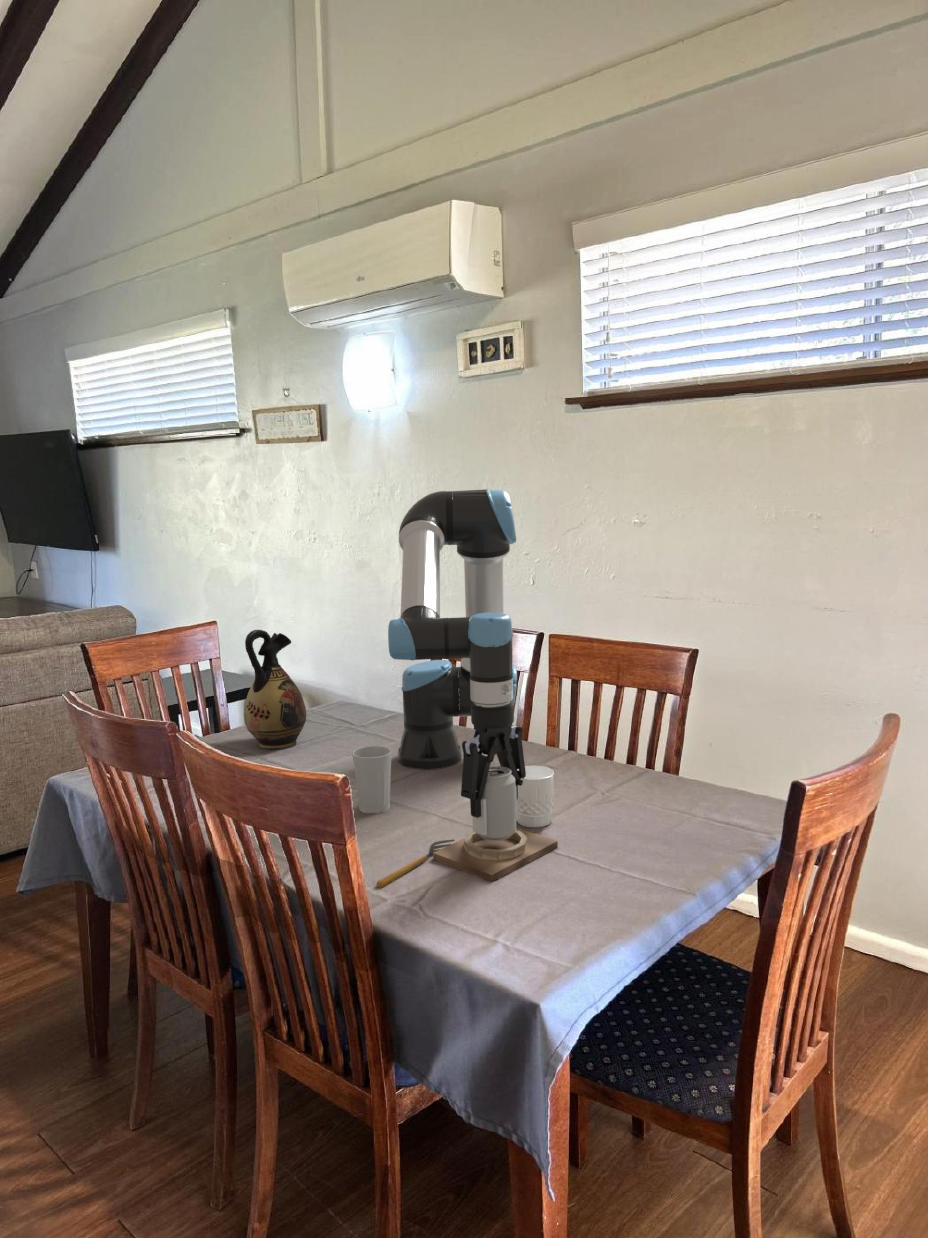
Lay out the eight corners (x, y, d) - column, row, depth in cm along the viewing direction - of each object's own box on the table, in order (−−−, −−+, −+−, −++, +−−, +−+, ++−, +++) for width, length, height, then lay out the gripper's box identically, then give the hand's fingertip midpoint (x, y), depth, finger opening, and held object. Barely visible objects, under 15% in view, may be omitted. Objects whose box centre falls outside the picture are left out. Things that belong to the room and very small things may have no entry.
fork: (383, 882, 153) (455, 838, 169) (374, 877, 154) (447, 834, 170) (381, 895, 154) (453, 850, 170) (373, 890, 155) (445, 845, 171)
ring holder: (499, 828, 177) (499, 814, 177) (557, 847, 168) (557, 833, 167) (433, 859, 164) (432, 844, 164) (492, 881, 155) (491, 866, 155)
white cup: (558, 815, 183) (558, 767, 181) (549, 831, 175) (548, 780, 174) (520, 812, 185) (519, 764, 184) (509, 826, 178) (508, 777, 176)
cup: (387, 816, 185) (385, 758, 183) (349, 814, 187) (346, 757, 185) (398, 801, 193) (396, 746, 191) (361, 800, 195) (359, 745, 193)
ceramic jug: (287, 731, 246) (279, 621, 241) (319, 743, 235) (312, 627, 230) (229, 746, 235) (220, 630, 230) (260, 759, 224) (252, 637, 219)
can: (522, 829, 167) (521, 766, 165) (507, 845, 161) (505, 779, 159) (484, 824, 170) (483, 761, 168) (467, 839, 164) (465, 774, 162)
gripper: (468, 718, 152) (472, 849, 155) (545, 693, 166) (547, 814, 170) (435, 710, 157) (440, 838, 161) (513, 687, 171) (515, 804, 175)
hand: (495, 825), depth 165 cm, fingers closed on can, 7 cm apart
